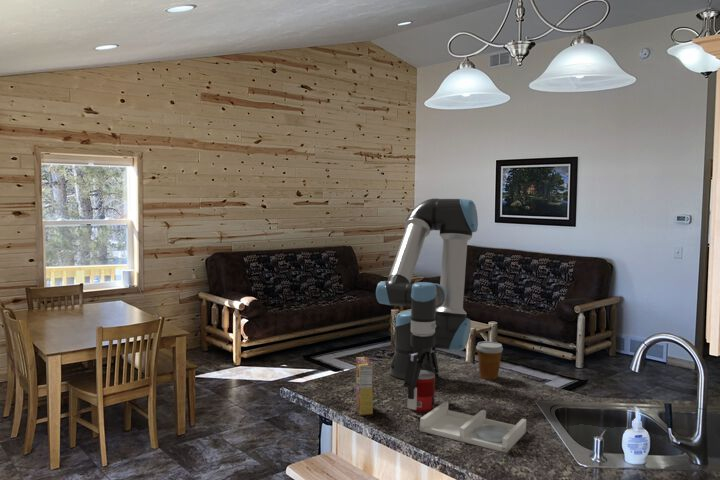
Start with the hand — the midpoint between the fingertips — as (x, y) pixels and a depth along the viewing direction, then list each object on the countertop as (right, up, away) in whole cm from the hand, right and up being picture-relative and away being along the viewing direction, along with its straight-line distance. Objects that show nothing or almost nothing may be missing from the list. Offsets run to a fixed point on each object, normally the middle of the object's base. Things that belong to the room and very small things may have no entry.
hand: (421, 402), depth 187 cm
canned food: (0, -2, 0) cm, 2 cm away
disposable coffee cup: (+28, 0, +32) cm, 42 cm away
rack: (+12, -4, -20) cm, 23 cm away
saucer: (+17, -3, -23) cm, 29 cm away
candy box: (-18, -2, -2) cm, 18 cm away
